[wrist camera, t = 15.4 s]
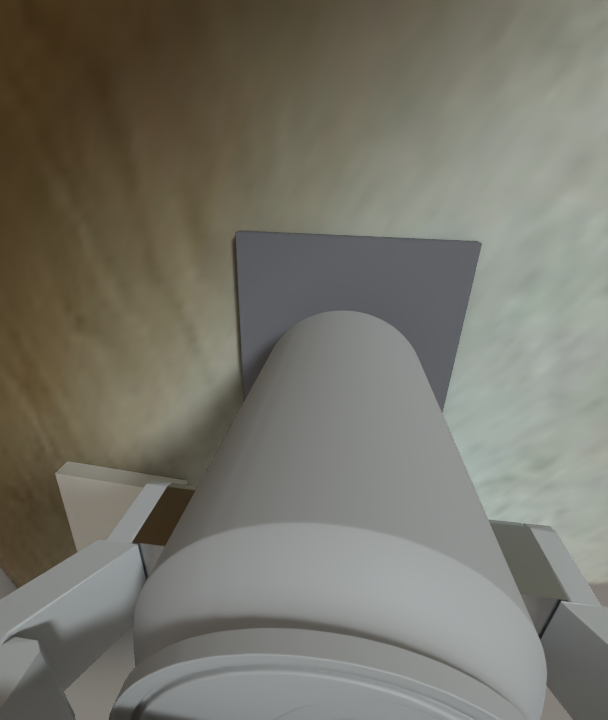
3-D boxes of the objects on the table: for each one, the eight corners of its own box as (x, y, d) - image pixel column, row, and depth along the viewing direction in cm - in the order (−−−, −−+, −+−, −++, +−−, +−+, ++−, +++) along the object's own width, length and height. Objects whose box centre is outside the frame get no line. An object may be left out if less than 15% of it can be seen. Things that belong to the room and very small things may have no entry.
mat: (239, 230, 16) (235, 232, 15) (477, 241, 15) (481, 243, 14) (248, 420, 20) (245, 426, 19) (432, 438, 19) (434, 445, 18)
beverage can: (446, 400, 15) (691, 901, 4) (320, 459, 17) (266, 903, 6) (369, 273, 14) (449, 561, 3) (239, 355, 16) (-26, 712, 5)
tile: (55, 473, 22) (84, 575, 26) (179, 493, 22) (188, 594, 26) (73, 456, 24) (97, 556, 28) (190, 474, 23) (197, 573, 27)
